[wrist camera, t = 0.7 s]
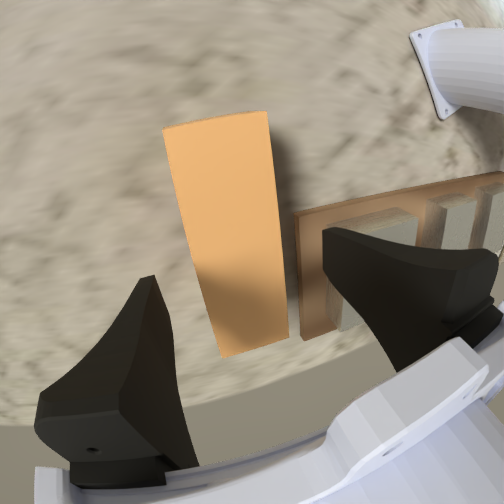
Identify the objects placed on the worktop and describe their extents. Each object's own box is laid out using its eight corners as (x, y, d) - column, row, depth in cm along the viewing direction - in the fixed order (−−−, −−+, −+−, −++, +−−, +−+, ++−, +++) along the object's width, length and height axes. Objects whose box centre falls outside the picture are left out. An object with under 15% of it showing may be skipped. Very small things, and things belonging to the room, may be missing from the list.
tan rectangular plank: (233, 111, 15) (266, 110, 10) (259, 286, 21) (289, 337, 16) (163, 126, 14) (162, 129, 9) (205, 301, 20) (222, 358, 15)
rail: (326, 224, 19) (346, 239, 17) (498, 181, 24) (513, 188, 22) (325, 313, 23) (340, 332, 21) (487, 240, 28) (501, 248, 26)
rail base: (293, 212, 19) (298, 217, 18) (500, 171, 24) (505, 172, 24) (300, 335, 24) (304, 341, 24) (485, 250, 30) (489, 252, 29)
